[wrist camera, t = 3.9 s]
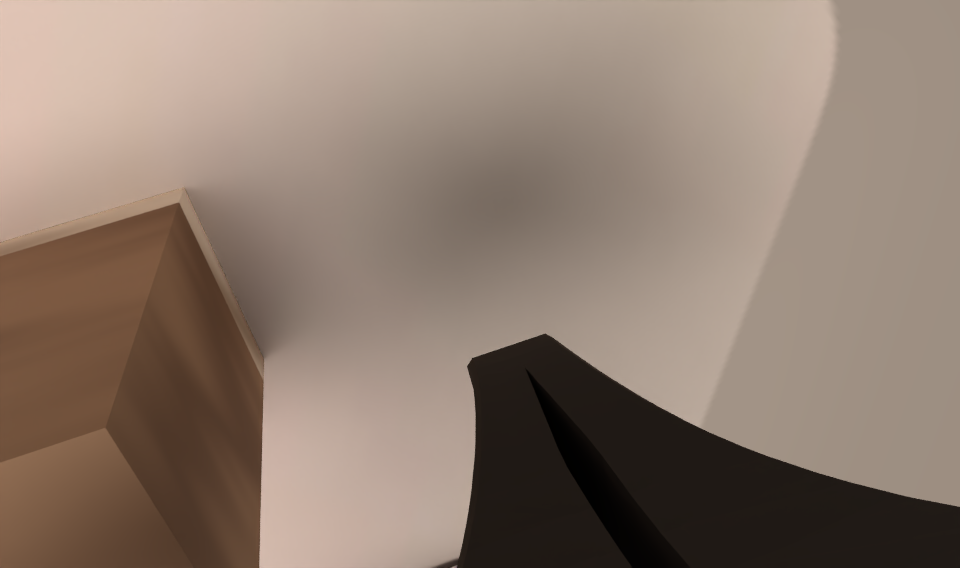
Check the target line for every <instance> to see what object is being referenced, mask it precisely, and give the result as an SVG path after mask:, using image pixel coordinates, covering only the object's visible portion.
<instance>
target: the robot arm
mask: <svg viewBox="0 0 960 568" xmlns="http://www.w3.org/2000/svg"><path fill="white" fill-rule="evenodd" d="M467 368H468V371H469V375H470V378H471V382H472V385H473V389H474V396H475V410H476V445H475V460H474V470H473V481H472V491H471V499H470V505H469V512H468V518H467V524H466V529H465V534H464V539H463V544H462V549H461V553H460V557H459V561H458V565H456V566H454V567H451V568H960V507H957V506H952V505H947V504H942V503H937V502H931V501H926V500H920V499H916V498H911V497H906V496H902V495H898V494H894V493H890V492H886V491H882V490H878V489H874V488H870V487H866V486H862V485H858V484H854V483H850V482H847V481H843V480H840V479H836V478H833V477H830V476H826V475H823V474H819V473H816V472H813V471H810V470H806V469H804V468H801V467H798V466H795V465H792V464H789V463H786V462H783V461H780V460H777V459H774V458H771V457H768V456H765V455H763V454H760V453H758V452H755V451H752V450H750V449H747V448H744V447H742V446H740V445H737V444H735V443H733V442H730V441H728V440H726V439H723V438H721V437H718V436H716V435H714V434H711V433H709V432H707V431H705V430H703V429H701V428H699V427H697V426H695V425H693V424H690V423H688V422H686V421H684V420H683V419H681V418H679V417H677V416H675V415H673V414H671V413H669V412H667V411H666V410H664V409H662V408H660V407H658V406H656V405H655V404H653V403H651V402H649V401H648V400H646V399H644V398H642V397H641V396H639V395H637V394H636V393H634V392H632V391H631V390H629V389H627V388H626V387H624V386H623V385H621V384H619V383H618V382H616V381H614V380H613V379H611V378H610V377H608V376H607V375H605V374H604V373H602V372H600V371H599V370H597V369H596V368H595V367H593V366H592V365H590V364H589V363H587V362H586V361H584V360H583V359H581V358H580V357H579V356H577V355H576V354H574V353H573V352H572V351H570V350H569V349H567V348H566V347H565V346H563V345H562V344H561V343H559V342H558V341H557V340H555V339H554V338H552V337H551V336H549V335H547V334H543V335H540V336H537V337H534V338H531V339H528V340H525V341H522V342H519V343H516V344H513V345H510V346H507V347H504V348H501V349H498V350H495V351H492V352H489V353H486V354H483V355H481V356H478V357H475V358H472V360H471V361H470V363H469V364H468V366H467Z"/></svg>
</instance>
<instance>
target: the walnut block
mask: <svg viewBox="0 0 960 568" xmlns="http://www.w3.org/2000/svg"><path fill="white" fill-rule="evenodd" d="M263 381H264V359H263V357H262V354H261V352H260V350H259V348H258V346H257V344H256V341H255V339H254V337H253V335H252V333H251V331H250V329H249V326H248V324H247V322H246V320H245V318H244V316H243V313H242V311H241V309H240V307H239V305H238V303H237V300H236V298H235V296H234V294H233V292H232V290H231V288H230V285H229V283H228V281H227V279H226V277H225V275H224V272H223V270H222V268H221V266H220V264H219V262H218V259H217V257H216V255H215V253H214V251H213V249H212V247H211V244H210V242H209V240H208V238H207V236H206V234H205V231H204V229H203V227H202V225H201V223H200V221H199V218H198V216H197V214H196V212H195V210H194V208H193V206H192V203H191V201H190V199H189V197H188V195H187V193H186V190H185V188H184V187H183V188H180V189H176V190H173V191H170V192H166V193H163V194H160V195H156V196H153V197H150V198H146V199H143V200H140V201H136V202H133V203H130V204H126V205H123V206H120V207H116V208H113V209H110V210H106V211H103V212H100V213H96V214H93V215H90V216H86V217H83V218H80V219H76V220H73V221H70V222H66V223H63V224H60V225H56V226H53V227H50V228H46V229H43V230H40V231H36V232H33V233H30V234H26V235H23V236H20V237H16V238H13V239H10V240H6V241H3V242H0V568H259V551H260V508H261V466H262V423H263Z"/></svg>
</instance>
